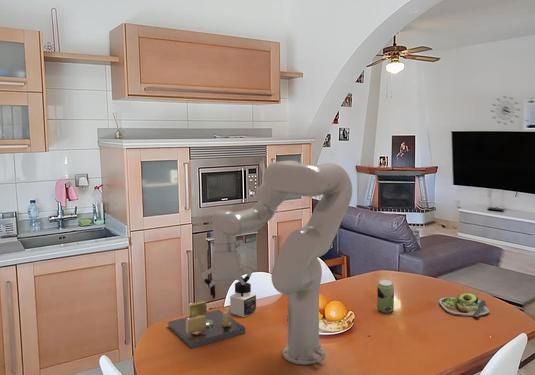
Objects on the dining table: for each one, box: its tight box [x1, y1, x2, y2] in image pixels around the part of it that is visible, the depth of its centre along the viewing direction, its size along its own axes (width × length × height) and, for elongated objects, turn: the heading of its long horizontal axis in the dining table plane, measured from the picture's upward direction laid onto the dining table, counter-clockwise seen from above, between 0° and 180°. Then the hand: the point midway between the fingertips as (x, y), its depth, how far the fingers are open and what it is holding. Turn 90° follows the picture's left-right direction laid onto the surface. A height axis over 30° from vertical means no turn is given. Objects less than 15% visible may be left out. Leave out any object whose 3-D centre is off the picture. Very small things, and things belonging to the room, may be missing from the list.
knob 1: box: [186, 315, 206, 335], centre depth 152 cm, size 3×6×6 cm, turn 123°
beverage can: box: [376, 279, 395, 314], centre depth 174 cm, size 6×7×12 cm
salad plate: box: [438, 292, 490, 318], centre depth 175 cm, size 19×18×5 cm
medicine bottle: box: [229, 281, 257, 318], centre depth 175 cm, size 7×7×12 cm
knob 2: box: [222, 306, 232, 327], centre depth 159 cm, size 3×6×6 cm, turn 177°
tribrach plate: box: [167, 309, 246, 349], centre depth 160 cm, size 20×20×4 cm
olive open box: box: [187, 300, 208, 318], centre depth 166 cm, size 3×6×6 cm, turn 123°
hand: (228, 296), depth 157 cm, fingers open, 9 cm apart
